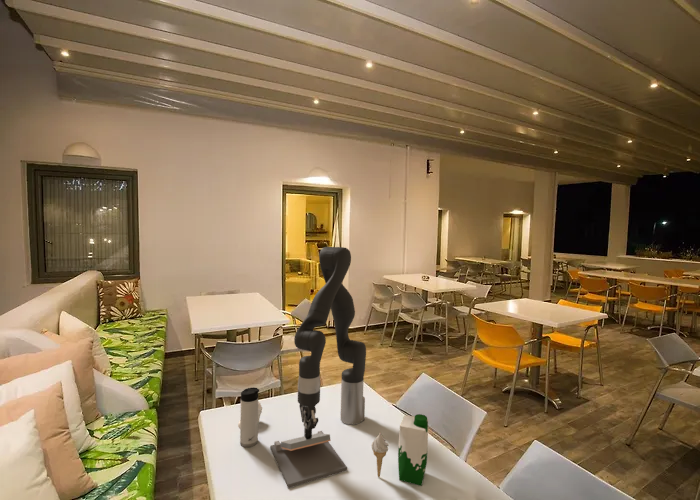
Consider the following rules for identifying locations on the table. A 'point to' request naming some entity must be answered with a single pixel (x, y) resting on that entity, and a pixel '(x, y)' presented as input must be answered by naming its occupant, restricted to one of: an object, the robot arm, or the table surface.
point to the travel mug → (249, 417)
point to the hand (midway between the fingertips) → (308, 437)
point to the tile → (305, 441)
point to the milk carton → (413, 448)
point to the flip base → (307, 463)
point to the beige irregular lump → (258, 413)
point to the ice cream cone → (379, 450)
